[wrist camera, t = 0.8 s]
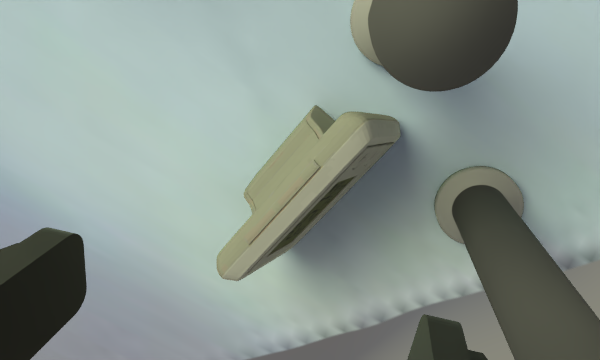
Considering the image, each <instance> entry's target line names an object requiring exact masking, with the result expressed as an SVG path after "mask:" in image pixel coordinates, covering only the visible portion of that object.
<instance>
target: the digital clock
mask: <svg viewBox="0 0 600 360" xmlns="http://www.w3.org/2000/svg"><path fill="white" fill-rule="evenodd" d="M399 138H400V126H399V122H398V121H397V120H396V119H395V118H393V117H390V116H386V115H380V114H371V113H363V112H347V113H344V114H342V115H341V116H340V117H339V118H338V119H337V120H336V121H335V120H333V119H332V118H331V117H330V116H329V115H328V114H326V113H325V112H324V111H323V110H322V109H321V108H319V107H318V106H316V105H315V106H314V107H313V108H312V109H311V110H310V112H309V113H308V114H307V115H306V116H305V118H304V119H303V120H302V121H301V122H300V123H299V125H298V126H297V127H296V128H295V129H294V131H293V132H292V133H291V134H290V135H289V136H288V138H287V139H286V140H285V141H284V142H283V144H282V145H281V146H280V147H279V148H278V149H277V151H276V152H275V153H274V154H273V155H272V157H271V158H270V159H269V160H268V161H267V162H266V164H265V165H264V166H263V167H262V168H261V170H260V171H259V172H258V173H257V174H256V175H255V177H254V178H253V180H252V181H251V182H250V184H249V185H248V187H247V188H246V189H245V192H244V198H245V199H246V201H247V202H248V203H249V205H250V207H251V210H252V214H253V215H252V216H251V217H250V218H249V219H248V220H247V221H246V223H245V224H244V225H243V226H242V227H241V228H240V229H239V230H238V232H237V233H236V234H235V235H234V236H233V237H232V238H231V240H230V241H229V242H228V243H227V244H226V245H225V246H224V248H223V249H222V250H221V251H220V252H219V254H218V256H217V270H218V273H219V275H220V276H221V277H222V278H223V279H227V280H234V281H239V280H241V279H243V278H244V277H246V276H248V275H249V274H251V273H253V272H254V271H256V270H258V269H259V268H261V267H262V266H264V265H266V264H267V263H269V262H271V261H272V260H274V259H275V258H277V257H279V256H280V255H282V254H284V253H285V252H287V251H288V250H290V249H291V248H292V247H293V246H294V245H295V244H297V243H298V242H299V241H300V239H301V238H302V237H303V236H304V235H305V234H306V233H307V232H308V231H309V230H310V229H311V228H312V227H313V226H314V225H315V224H316V223H317V222H318V221H319V220H320V219H321V218H322V217H323V216H324V215H325V214H326V213H327V212H328V211H329V210H330V209H331V208H332V207H333V206H334V205H335V204H336V203H337V202H338V201H339V200H340V199H341V198H342V197H343V196H344V195H345V194H346V193H347V192H348V191H349V189H350V188H351V187H352V186H353V185H354V184H355V183H356V182H357V181H358V180H359V179H360V178H361V177H362V176H363V175H364V174H365V173H366V172H367V171H368V170H369V169H370V168H371V167H372V166H373V165H374V164H375V163H376V162H377V161H378V160H379V159H380V158H381V157H382V156H383V155H384V154H385V153H386V152H387V151H388V150H389V149H390V148H391V146H392V145H393V144H394V143H395V142H396V141H397V140H398V139H399Z"/></svg>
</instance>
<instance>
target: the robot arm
mask: <svg viewBox="0 0 600 360" xmlns="http://www.w3.org/2000/svg"><path fill="white" fill-rule="evenodd" d="M85 295H86V273H85V259H84V244H83V240H82V238H81V236H80V235H78V234H75V233H70V232H66V231H61V230H57V229H53V228H43V229H41V230H39V231H37V232H36V233H34V234H33V235H31V236H30V237H28V238H27V239H25V240H23V241H22V242H20V243H16V244H14V245H11V246H8V247H5V248H3V249H0V360H30V359H31V358H32V357H33V356H34V355H35V354H36V353H37V352H38V351H39V350H40V349H41V348H42V347H43V346H44V345H45V344H46V343H47V342H48V341H49V340H50V339H51V338H52V337H53V336H54V335H55V334H56V333H57V332H58V331H59V330H60V329H61V328H62V327H63V326H64V325H65V324H66V323H67V322H68V321H69V320H70V319H71V318H72V317H73V316H74V315H75V314H76V313H77V312H78V310H79V309H80V307H81V305H82V303H83V301H84V298H85ZM407 360H488V359H487V358H486V357H485V355H484V354H483V353H479V352H475V351H471V350H468V349H467V345H466V341H465V337H464V333H463V329H462V326H461V324H460V323H459V322H456V321H451V320H447V319H442V318H438V317H434V316H429V315H425V314H424V315H423V316H422V317H421V320H420V322H419V325H418V328H417V331H416V334H415V337H414V341H413V344H412V347H411V350H410V353H409V356H408V359H407Z"/></svg>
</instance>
